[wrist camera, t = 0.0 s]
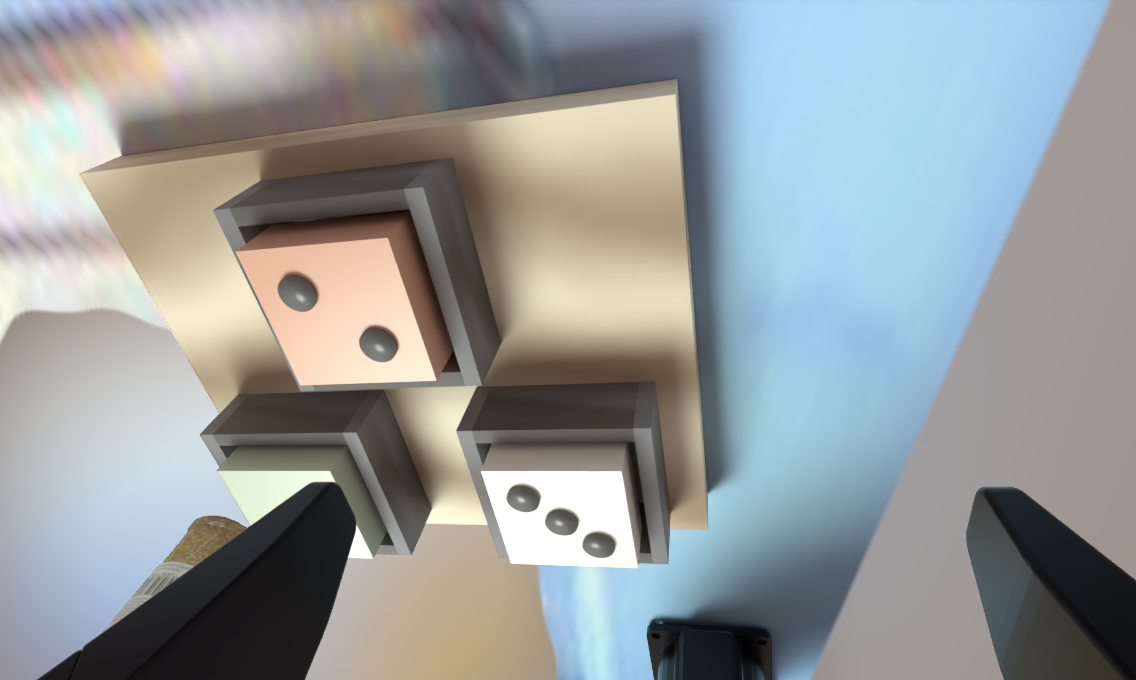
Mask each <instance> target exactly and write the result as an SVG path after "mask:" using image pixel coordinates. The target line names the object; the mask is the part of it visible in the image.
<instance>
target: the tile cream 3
mask: <svg viewBox="0 0 1136 680" xmlns="http://www.w3.org/2000/svg"><path fill="white" fill-rule="evenodd" d="M481 473H482V476H483V479H484V482H485V485H486V488H487V491H488V495H489V498H490V501H491V504H492V507H493V510H494V513H495V516H496V519H497V522H498V525H499V528H500V531H501V534H502V537H503V540H504V543H505V546H506V550H507V553H508V556H509V559H510V562H511V563H512V564H538V565H565V566H593V567H620V568H638V562H639V552H640V541H641V531H642V523H641V517H640V510H639V504H638V497H637V491H636V484H635V478H634V471H633V465H632V458H631V452H630V445H629V442H571V443H492V444H491V447H490V449H489V452H488V454H487V457H486V459H485V462H484V464H483V467H482V470H481Z"/></svg>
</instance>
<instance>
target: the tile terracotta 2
mask: <svg viewBox="0 0 1136 680" xmlns="http://www.w3.org/2000/svg"><path fill="white" fill-rule="evenodd" d="M236 254H237V256H238V258H239V260H240V262H241V264H242V266H243V268H244V270H245V273H246V275H247V277H248V279H249V281H250V283H251V285H252V287H253V289H254V291H255V293H256V295H257V297H258V299H259V301H260V303H261V306H262V308H263V310H264V312H265V314H266V316H267V318H268V320H269V322H270V324H271V326H272V328H273V330H274V332H275V334H276V336H277V339H278V341H279V343H280V345H281V347H282V349H283V351H284V353H285V355H286V357H287V359H288V361H289V363H290V365H291V367H292V369H293V372H294V374H295V376H296V378H297V380H298V382H299V384H300V385H327V384H356V383H385V382H415V381H437V379H438V377H439V376H440V374H441V372H442V370H443V368H444V367H445V365H446V363H447V361H448V359H449V358H450V356H451V354H452V352H453V350H454V348H453V345H452V342H451V339H450V336H449V332H448V329H447V326H446V323H445V320H444V316H443V313H442V310H441V307H440V304H439V301H438V297H437V294H436V291H435V288H434V285H433V281H432V278H431V275H430V272H429V269H428V266H427V262H426V259H425V256H424V253H423V250H422V246H421V243H420V240H419V237H418V234H417V231H416V227H415V224H414V221H413V218H412V215H411V211H400V212H391V213H381V214H371V215H361V216H351V217H341V218H332V219H322V220H312V221H302V222H292V223H282V224H273V225H271V226H269V227H268V228H267V229H265V230H264V231H263V232H261V233H260V234H259V235H257V236H256V237H255V238H253V239H252V240H251V241H249V242H248V243H247V244H245V245H244V246H242V247H241V248H240V249H238V250H237V251H236Z"/></svg>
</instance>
